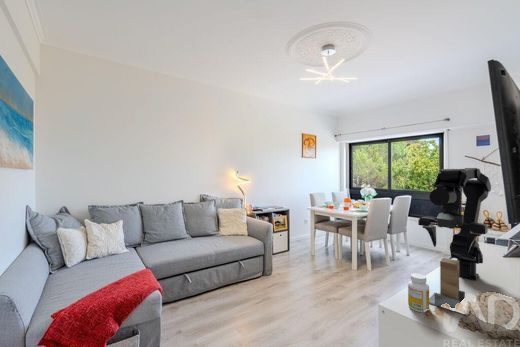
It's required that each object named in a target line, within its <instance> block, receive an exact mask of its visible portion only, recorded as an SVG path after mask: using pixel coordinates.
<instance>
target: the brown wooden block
mask: <svg viewBox="0 0 520 347" xmlns="http://www.w3.org/2000/svg"><path fill="white" fill-rule="evenodd" d="M439 266H440V267H439V268H440V269H439V270H440V271H439V275H440V278H439V279H440V280H439V282H440V286H439V289H440V290H439V291H440V292H439V294H442V295H445V296H449V297H452V298H455V299H459V290H460V276H459V261H458V260H457V259H454V258H448V257H442V258H441V259H440V260H439Z"/></svg>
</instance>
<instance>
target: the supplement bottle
mask: <svg viewBox="0 0 520 347" xmlns="http://www.w3.org/2000/svg"><path fill="white" fill-rule="evenodd" d="M407 297H408V298H407V304H408V305H407V306H408V308H410V309H412V310H413V311H415V312H418V313H425V312H424V310H426V309H429V310H430V304H429V298H430V286H429V284H428V283H427V276H426V275H424V274H422V273H415V272H413V273H410V280H409V281H408V283H407Z"/></svg>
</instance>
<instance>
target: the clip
mask: <svg viewBox="0 0 520 347" xmlns="http://www.w3.org/2000/svg"><path fill="white" fill-rule="evenodd" d="M464 298H465V299H466V291H463V290H460V289H459V299H455V298H452V297H449V296H445V295H442V294H440V292H439V293H438V292H433V294H432V295H430V296H429V305H432V306H435V307H438V306H441V305H442V304H445V303H447V304H449V305H450V307H451V308H455V305H456V304H457V303H460V302H461V301H462V300H463V299H464Z"/></svg>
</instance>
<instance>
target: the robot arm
mask: <svg viewBox="0 0 520 347" xmlns="http://www.w3.org/2000/svg"><path fill="white" fill-rule="evenodd" d="M489 178H490V177H488V176H487V175H485V174H484V173H482V172H481V170H480V168H477V167H465V168H441V169H440V170H439V172H438V173H437V175H436V178H435V181H434V185H433V187H434V188H435V189H433V190H431V192H430V194H429V200H430V202H431V203H432V204H434V205H435V206H437V207H438V206H439V207H440V206H441V207H440V211H439V213H438V215H437V216H436V219H435V217H432V216H431V217H430V216H422V217H419V218H418V220H417V221H418V223H417V224H418V225H419V226H422V229H425V230H426V231H427V233H428V234H429V237H430V239H431V242H432V244H433V247H437V228H447V229H452V230H454V229H460V230H459V232H458V233H457V234H456V233H454V234H453V235H452V241H451V242H450V243H449V251H450V257H451V258H450V259H455V260H458V261H459V278H460V277H461V278H465V279H469V280H473V281H476V280H477V279H478V278H479V276H480V274H479V273H477V265H479V264H483V263H484V256H483V255H484V254H483V253H482V251H481V248H480V244H479V242H478V240H477V237H481V236H482V235H486V234H488V231H489V229H488V228H489V227H488V225H487V224H486V223H482V222H481V223H480V222H478V221H479V216H480V209H481V206H482V202H483V201H485V200H486V199H487V198H488V196H489V194H490V192H491V190H492V183H491V182H490V179H489ZM463 194H464V196H465V198H466V199H465V204H464V209H463V211H462V208H463V207H462V206H463V205H462V202H463ZM462 212H463V214H462Z"/></svg>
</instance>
